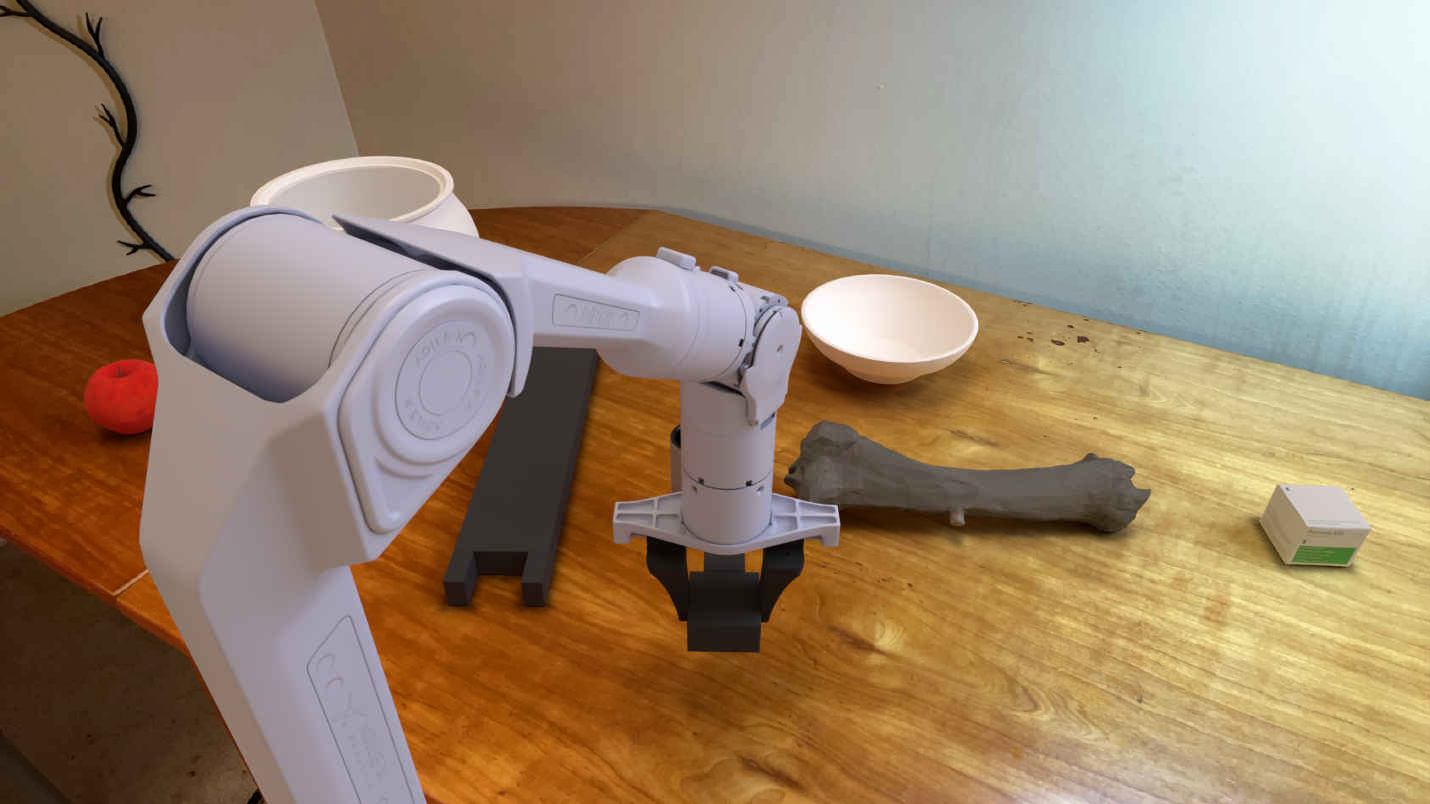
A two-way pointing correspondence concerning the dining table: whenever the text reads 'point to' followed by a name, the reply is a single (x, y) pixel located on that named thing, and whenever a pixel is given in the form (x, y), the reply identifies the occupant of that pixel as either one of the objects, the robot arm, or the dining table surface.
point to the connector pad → (724, 606)
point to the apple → (123, 396)
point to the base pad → (526, 479)
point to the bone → (960, 484)
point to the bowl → (888, 326)
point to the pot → (372, 192)
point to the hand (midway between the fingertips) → (724, 611)
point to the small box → (1314, 525)
